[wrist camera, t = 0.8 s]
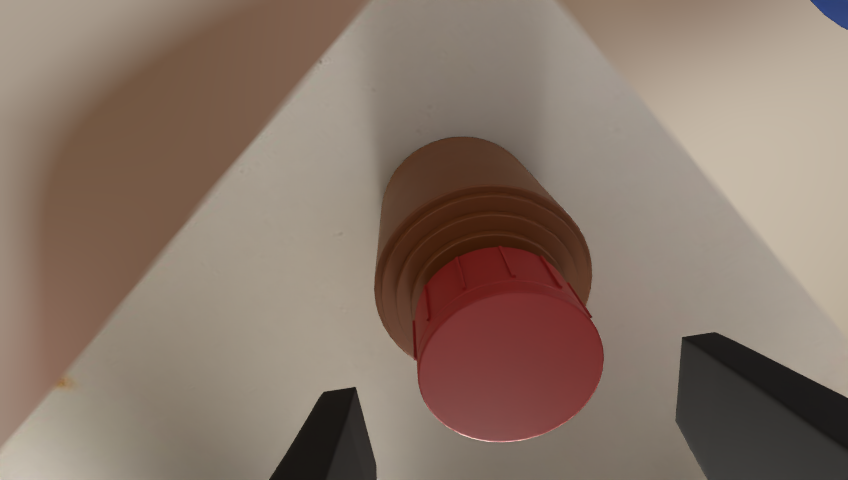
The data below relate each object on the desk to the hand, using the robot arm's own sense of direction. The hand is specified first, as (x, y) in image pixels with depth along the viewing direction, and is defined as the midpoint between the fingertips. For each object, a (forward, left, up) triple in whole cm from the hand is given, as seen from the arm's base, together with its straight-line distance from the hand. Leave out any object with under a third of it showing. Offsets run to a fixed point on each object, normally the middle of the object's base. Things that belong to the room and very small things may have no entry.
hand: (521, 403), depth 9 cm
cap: (0, 0, -1) cm, 1 cm away
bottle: (0, 0, -10) cm, 10 cm away
